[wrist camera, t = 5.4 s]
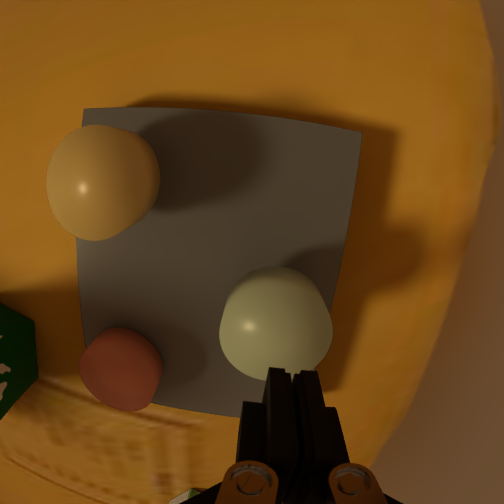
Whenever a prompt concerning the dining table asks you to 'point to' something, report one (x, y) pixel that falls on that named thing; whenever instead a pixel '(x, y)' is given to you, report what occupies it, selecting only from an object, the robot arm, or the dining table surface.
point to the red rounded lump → (121, 369)
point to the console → (216, 237)
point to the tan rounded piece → (102, 181)
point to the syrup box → (184, 496)
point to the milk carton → (15, 357)
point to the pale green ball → (275, 323)
